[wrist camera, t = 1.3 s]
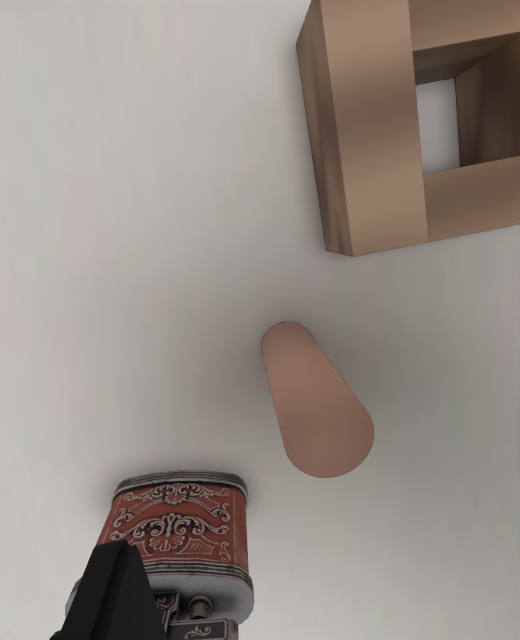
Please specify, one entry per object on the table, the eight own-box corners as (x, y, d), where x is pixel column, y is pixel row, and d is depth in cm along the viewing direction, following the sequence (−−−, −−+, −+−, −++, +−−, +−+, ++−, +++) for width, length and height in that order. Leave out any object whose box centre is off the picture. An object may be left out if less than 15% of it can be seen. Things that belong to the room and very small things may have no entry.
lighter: (116, 521, 25) (42, 715, 15) (112, 473, 24) (30, 643, 14) (247, 515, 25) (257, 697, 15) (247, 467, 24) (257, 627, 15)
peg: (316, 366, 23) (379, 467, 13) (266, 376, 23) (291, 486, 13) (309, 316, 22) (368, 386, 13) (256, 327, 22) (276, 405, 13)
